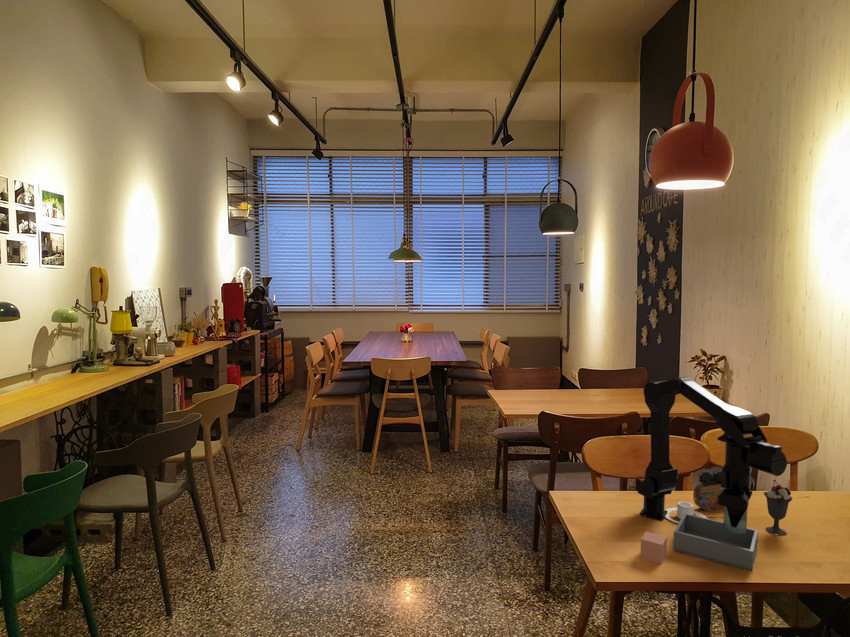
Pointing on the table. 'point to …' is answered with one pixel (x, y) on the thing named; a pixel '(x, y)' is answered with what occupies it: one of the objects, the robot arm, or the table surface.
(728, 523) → the cylinder
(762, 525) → the table surface
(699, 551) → the tote
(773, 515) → the sundae
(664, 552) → the cube
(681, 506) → the candle holder
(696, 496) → the tin
